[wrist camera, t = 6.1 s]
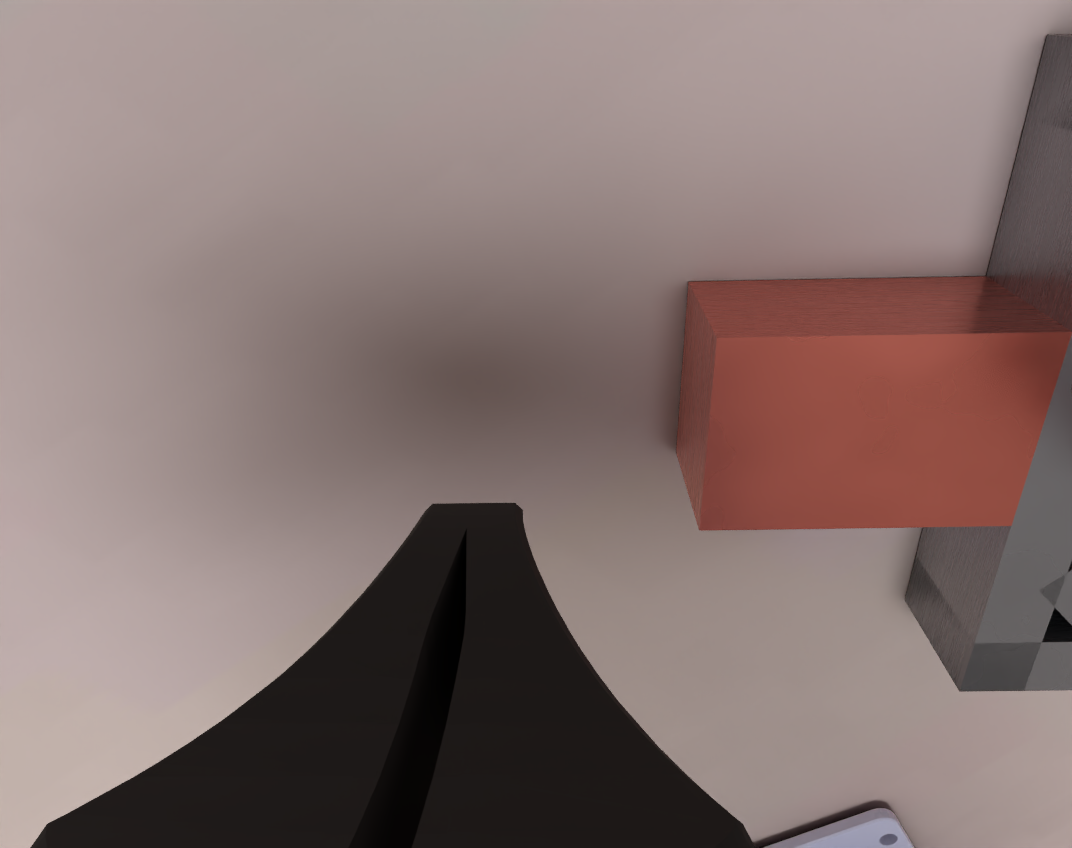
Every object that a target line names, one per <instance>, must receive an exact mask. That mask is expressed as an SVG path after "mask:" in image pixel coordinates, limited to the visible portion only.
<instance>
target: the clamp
mask: <svg viewBox="0 0 1072 848" xmlns="http://www.w3.org/2000/svg"><path fill="white" fill-rule="evenodd" d="M676 453H677V457H678V460H679V464H680V467H681V470H682V474H683V477H684V480H685V484H686V487H687V491H688V494H689V497H690V501H691V504H692V508H693V511H694V514H695V518H696V521H697V525H698V528H699V530H763V529H834V528H905V527H923V530H922V534H921V538H920V542H919V546H918V550H917V554H916V558H915V562H914V566H913V570H912V574H911V578H910V582H909V586H908V590H907V594H906V598H905V601H906V603H907V604H908V606H909V608H910V609H911V611H912V613H913V614H914V616H915V618H916V619H917V621H918V623H919V625H920V626H921V628H922V630H923V631H924V633H925V635H926V636H927V638H928V640H929V641H930V643H931V645H932V646H933V648H934V650H935V651H936V653H937V655H938V656H939V658H940V660H941V661H942V663H943V665H944V666H945V668H946V670H947V671H948V673H949V675H950V676H951V678H952V680H953V681H954V683H955V685H956V686H957V688H958V690H959V691H1040V690H1072V34H1060V35H1047V38H1046V42H1045V46H1044V49H1043V53H1042V57H1041V61H1040V65H1039V69H1038V73H1037V77H1036V81H1035V85H1034V89H1033V93H1032V97H1031V101H1030V105H1029V109H1028V113H1027V117H1026V121H1025V125H1024V129H1023V133H1022V137H1021V141H1020V145H1019V149H1018V153H1017V157H1016V161H1015V165H1014V169H1013V173H1012V177H1011V181H1010V185H1009V188H1008V192H1007V196H1006V200H1005V204H1004V208H1003V212H1002V216H1001V220H1000V224H999V228H998V232H997V236H996V240H995V244H994V248H993V252H992V256H991V260H990V264H989V268H988V272H987V276H979V277H924V278H868V279H812V280H757V281H701V282H688V294H687V308H686V322H685V336H684V350H683V364H682V378H681V392H680V406H679V420H678V433H677V447H676Z"/></svg>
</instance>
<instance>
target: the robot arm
mask: <svg viewBox="0 0 1072 848" xmlns="http://www.w3.org/2000/svg"><path fill="white" fill-rule="evenodd" d="M31 848H755V846H754V845H753V843H752V841H751V839H750V837H749V835H748V833H747V831H746V829H745V827H744V825H743V824H742V823H741V822H740V821H738V820H737V819H736V818H735V817H734V816H732V815H731V814H730V813H729V812H728V811H727V810H725V809H724V808H723V807H722V806H721V805H719V804H718V803H717V802H716V801H715V800H714V799H712V798H711V797H710V796H709V795H708V794H707V793H706V792H705V791H704V790H703V789H701V788H700V787H699V786H698V785H697V784H696V783H695V782H694V781H693V780H692V779H690V778H689V777H688V776H687V775H686V774H685V773H684V772H683V771H682V770H681V769H680V768H679V767H678V766H677V765H676V764H675V763H674V762H673V761H672V760H671V759H670V758H669V757H668V756H667V755H666V754H665V753H664V752H663V751H662V750H661V749H660V748H659V747H658V746H657V745H656V744H655V742H654V741H653V740H652V739H651V738H650V737H649V736H648V735H647V733H646V732H645V731H644V730H643V729H642V728H641V727H640V725H639V724H638V723H637V722H636V721H635V720H634V719H633V718H632V716H631V715H630V714H629V713H628V712H627V711H626V710H625V708H624V707H623V706H622V705H621V704H620V703H619V702H618V700H617V699H616V698H615V696H614V695H613V694H612V692H611V691H610V690H609V689H608V687H607V686H606V685H605V683H604V682H603V681H602V679H601V678H600V677H599V675H598V674H597V673H596V671H595V670H594V668H593V667H592V665H591V664H590V662H589V661H588V660H587V658H586V657H585V655H584V654H583V652H582V651H581V649H580V647H579V646H578V644H577V643H576V641H575V640H574V638H573V636H572V635H571V633H570V631H569V630H568V628H567V626H566V624H565V622H564V621H563V619H562V617H561V615H560V614H559V612H558V610H557V608H556V606H555V604H554V602H553V600H552V598H551V596H550V594H549V592H548V590H547V588H546V586H545V583H544V581H543V579H542V577H541V575H540V572H539V570H538V568H537V565H536V563H535V560H534V558H533V555H532V552H531V549H530V546H529V543H528V540H527V537H526V533H525V529H524V524H523V510H522V509H521V508H520V507H519V506H518V505H517V504H516V503H459V504H432V505H431V506H430V507H429V508H428V509H427V510H426V511H425V512H424V514H423V515H422V517H421V518H420V520H419V521H418V523H417V524H416V526H415V527H414V528H413V530H412V531H411V533H410V534H409V536H408V537H407V538H406V540H405V541H404V542H403V544H402V545H401V546H400V548H399V549H398V550H397V552H396V553H395V554H394V556H393V557H392V558H391V560H390V561H389V562H388V563H387V564H386V566H385V567H384V568H383V569H382V571H381V572H380V573H379V574H378V576H377V577H376V578H375V579H374V581H373V582H372V583H371V584H370V585H369V587H368V588H367V589H366V590H365V591H364V593H363V594H362V595H361V596H360V597H359V598H358V599H357V600H356V601H355V602H354V604H353V605H352V606H351V607H350V608H349V609H348V610H347V611H346V612H345V613H344V614H343V616H342V617H341V618H340V619H339V620H338V621H337V622H336V623H335V624H334V625H333V626H332V627H331V628H330V629H329V630H328V632H327V633H325V634H324V635H323V636H322V637H321V638H320V639H319V640H318V641H317V642H316V643H315V644H314V645H313V646H312V647H311V648H310V649H309V650H308V651H307V652H306V653H305V654H304V655H303V656H302V657H300V658H299V659H298V660H297V661H296V662H295V663H294V664H293V665H292V666H290V667H289V668H288V669H287V670H286V671H285V672H284V673H283V674H281V675H280V676H279V677H278V678H277V679H275V680H274V681H273V682H272V683H270V684H269V685H268V686H267V687H265V688H264V689H263V690H261V691H260V692H259V693H257V694H256V695H255V696H254V697H252V698H251V699H250V700H248V701H247V702H246V703H244V704H243V705H242V706H241V707H239V708H238V709H237V710H235V711H234V712H233V713H231V714H230V715H229V716H228V717H226V718H225V719H223V720H222V721H221V722H219V723H218V724H216V725H215V726H213V727H212V728H210V729H209V730H207V731H206V732H204V733H203V734H202V735H200V736H199V737H197V738H196V739H194V740H193V741H191V742H190V743H188V744H187V745H185V746H183V747H182V748H180V749H179V750H177V751H176V752H174V753H172V754H171V755H169V756H168V757H166V758H164V759H163V760H161V761H160V762H158V763H157V764H155V765H153V766H152V767H150V768H148V769H147V770H145V771H143V772H142V773H140V774H138V775H137V776H135V777H133V778H131V779H129V780H128V781H126V782H124V783H122V784H120V785H119V786H117V787H115V788H113V789H111V790H110V791H108V792H106V793H104V794H102V795H100V796H99V797H97V798H95V799H93V800H91V801H90V802H88V803H86V804H84V805H82V806H80V807H79V808H77V809H75V810H73V811H71V812H70V813H68V814H66V815H64V816H62V817H60V818H58V819H56V820H54V821H52V822H50V823H48V824H47V825H46V826H45V828H44V829H43V831H42V832H41V834H40V835H39V837H38V838H37V839H36V841H35V842H34V844H33V845H32V846H31ZM763 848H915V847H914V845H913V844H912V842H911V840H910V839H909V837H908V835H907V834H906V832H905V830H904V829H903V827H902V825H901V824H900V822H899V820H898V819H897V817H896V815H895V814H894V813H893V812H892V811H891V810H888V809H885V808H876V809H872V810H869V811H866V812H863V813H860V814H857V815H855V816H852V817H849V818H846V819H843V820H840V821H837V822H835V823H832V824H829V825H826V826H823V827H820V828H817V829H815V830H812V831H809V832H806V833H803V834H800V835H797V836H795V837H792V838H789V839H786V840H783V841H780V842H777V843H775V844H772V845H769V846H766V847H763Z"/></svg>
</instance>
